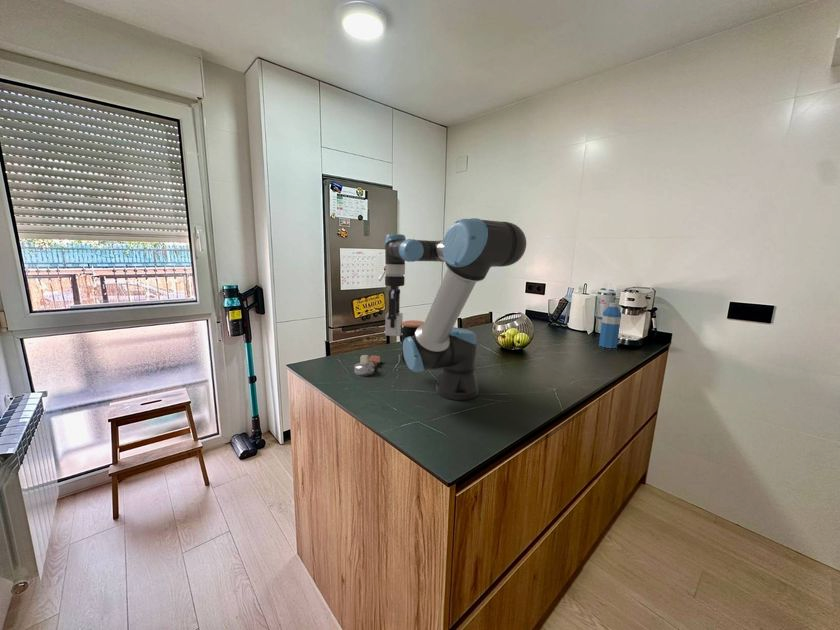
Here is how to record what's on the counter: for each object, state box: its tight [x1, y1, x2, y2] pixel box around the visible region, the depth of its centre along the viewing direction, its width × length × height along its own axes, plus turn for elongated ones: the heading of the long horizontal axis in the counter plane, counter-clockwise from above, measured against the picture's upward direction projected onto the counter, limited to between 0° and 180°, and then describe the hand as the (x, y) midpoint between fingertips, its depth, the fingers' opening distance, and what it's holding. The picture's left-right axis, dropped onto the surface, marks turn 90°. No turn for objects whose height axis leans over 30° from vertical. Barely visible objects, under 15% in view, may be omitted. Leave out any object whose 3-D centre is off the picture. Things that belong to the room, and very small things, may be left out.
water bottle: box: [598, 302, 622, 349], centre depth 182 cm, size 9×9×25 cm
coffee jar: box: [401, 320, 425, 364], centre depth 150 cm, size 11×11×18 cm
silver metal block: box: [384, 312, 404, 337], centre depth 132 cm, size 6×6×8 cm
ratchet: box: [354, 354, 381, 377], centre depth 140 cm, size 18×8×7 cm, turn 168°
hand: (393, 333), depth 132 cm, fingers closed on silver metal block, 6 cm apart
